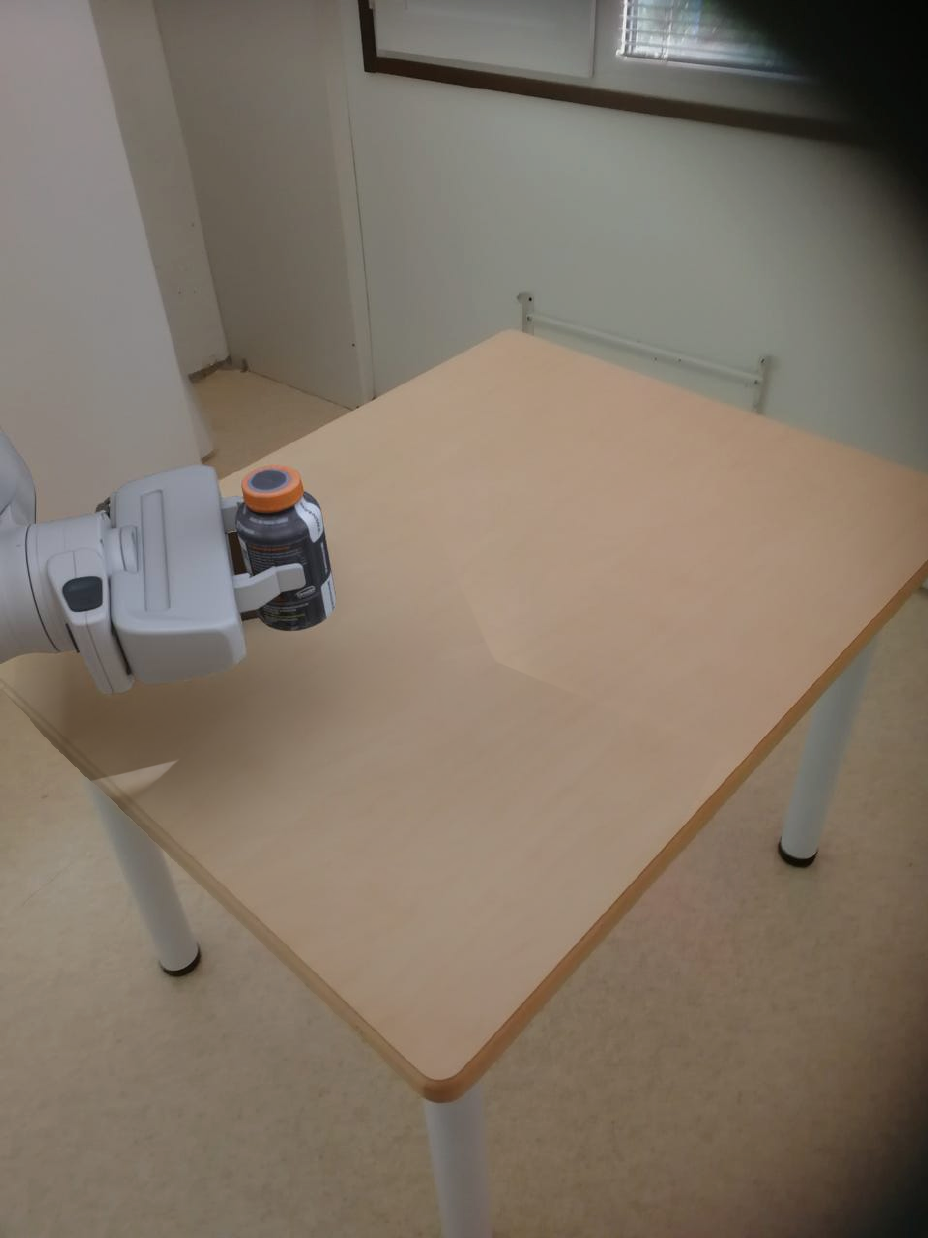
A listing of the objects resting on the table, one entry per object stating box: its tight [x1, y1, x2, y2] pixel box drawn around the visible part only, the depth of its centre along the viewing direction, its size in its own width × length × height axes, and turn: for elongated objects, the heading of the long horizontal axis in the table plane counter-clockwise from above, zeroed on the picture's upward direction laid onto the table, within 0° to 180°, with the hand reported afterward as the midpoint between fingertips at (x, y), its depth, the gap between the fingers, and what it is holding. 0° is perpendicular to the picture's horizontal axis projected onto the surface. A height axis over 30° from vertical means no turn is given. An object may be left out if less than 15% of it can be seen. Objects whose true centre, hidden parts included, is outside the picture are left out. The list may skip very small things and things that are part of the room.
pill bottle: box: [235, 464, 337, 632], centre depth 67 cm, size 6×6×11 cm
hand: (295, 540), depth 67 cm, fingers closed on pill bottle, 6 cm apart
